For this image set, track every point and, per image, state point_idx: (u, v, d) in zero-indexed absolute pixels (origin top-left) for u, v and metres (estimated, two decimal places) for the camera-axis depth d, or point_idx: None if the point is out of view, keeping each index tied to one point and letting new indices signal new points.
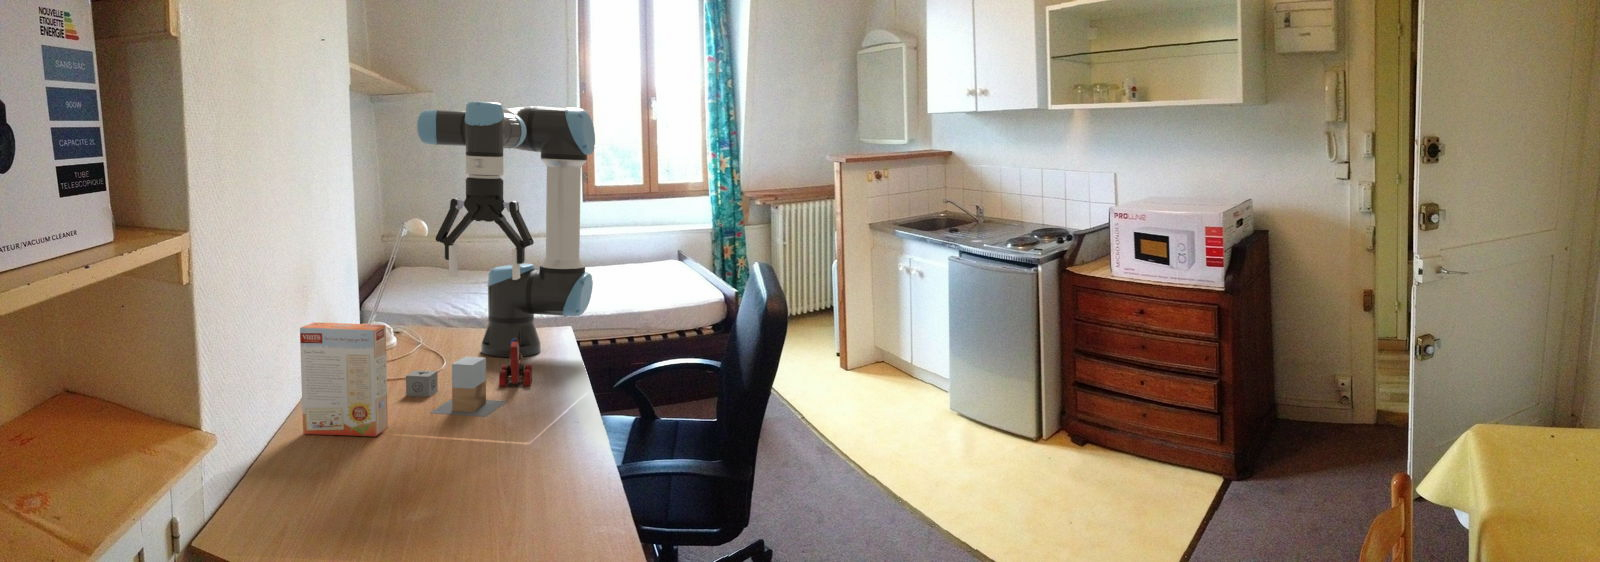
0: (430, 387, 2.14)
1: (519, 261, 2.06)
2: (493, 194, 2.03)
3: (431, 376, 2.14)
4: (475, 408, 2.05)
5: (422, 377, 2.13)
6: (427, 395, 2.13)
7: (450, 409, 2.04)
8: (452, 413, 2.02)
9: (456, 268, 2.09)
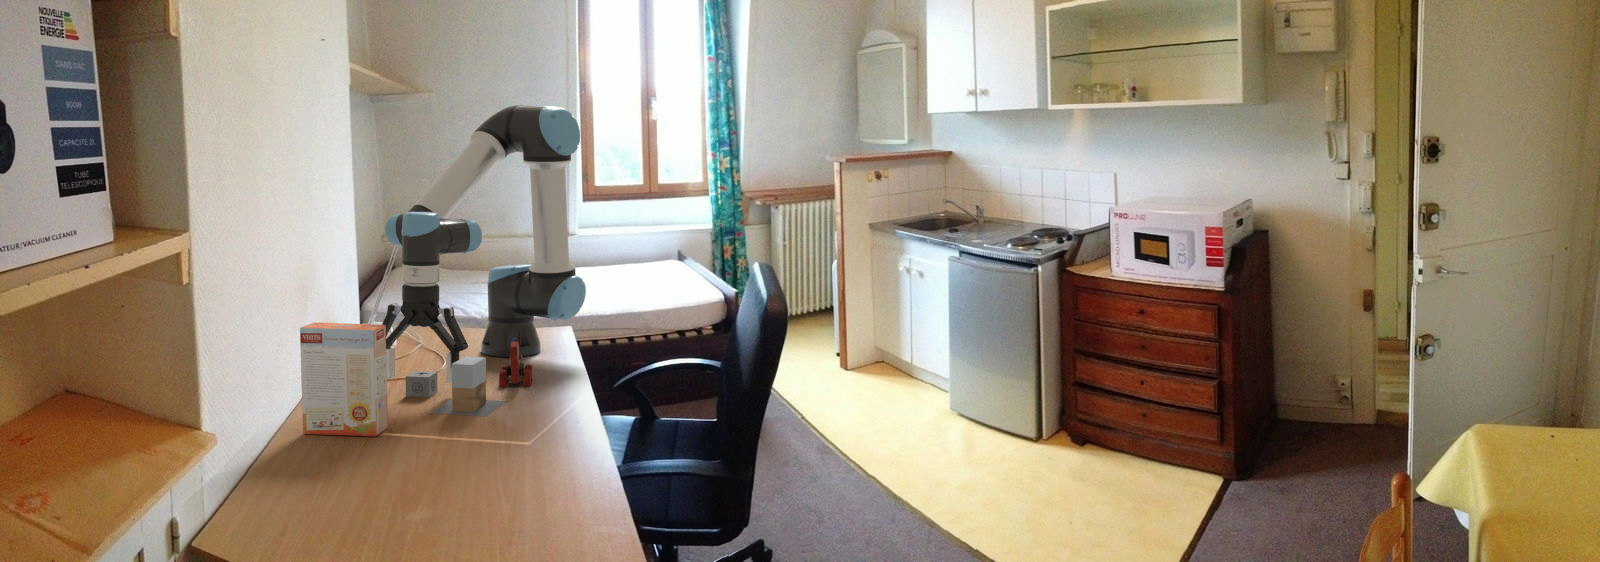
0: (430, 388, 2.13)
1: None
2: (428, 301, 2.10)
3: (431, 377, 2.13)
4: (475, 408, 2.05)
5: (422, 378, 2.12)
6: (427, 396, 2.13)
7: (450, 409, 2.04)
8: (452, 413, 2.02)
9: (393, 370, 2.16)
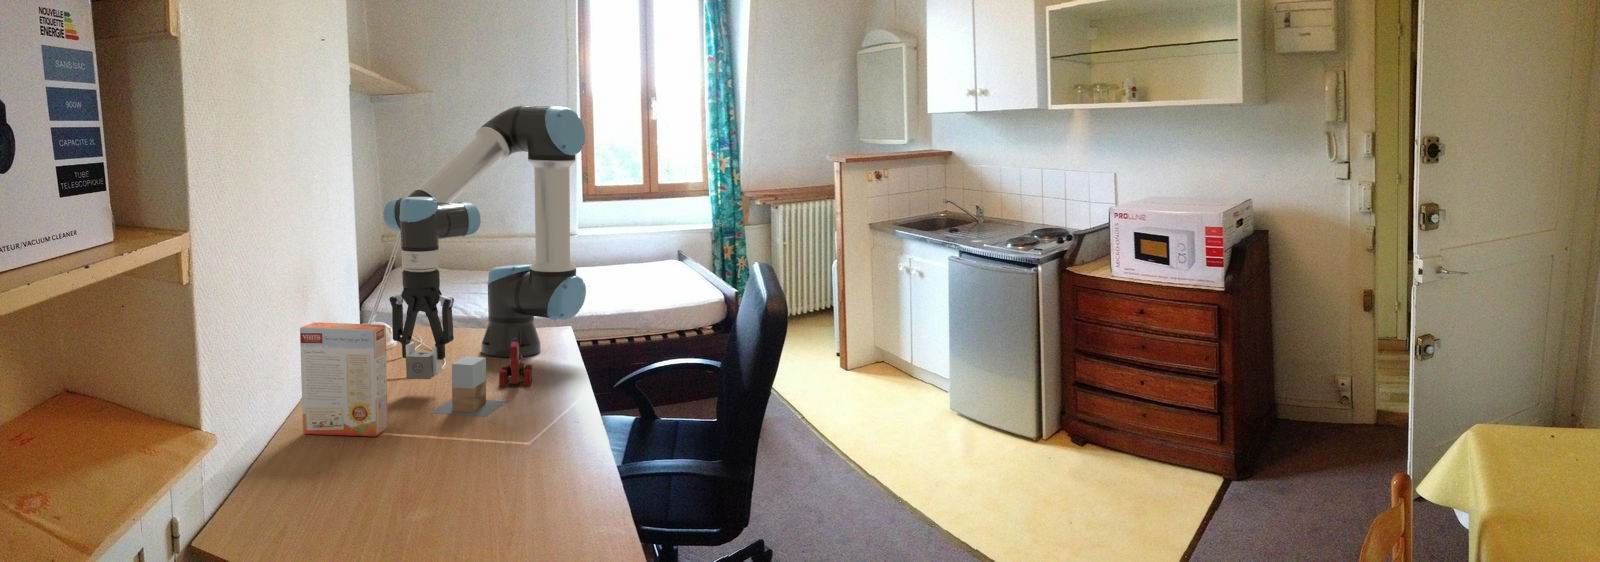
0: (430, 367, 2.13)
1: (439, 357, 2.14)
2: (428, 287, 2.10)
3: (431, 356, 2.13)
4: (475, 408, 2.05)
5: (422, 357, 2.11)
6: (428, 375, 2.12)
7: (450, 409, 2.04)
8: (452, 413, 2.02)
9: None
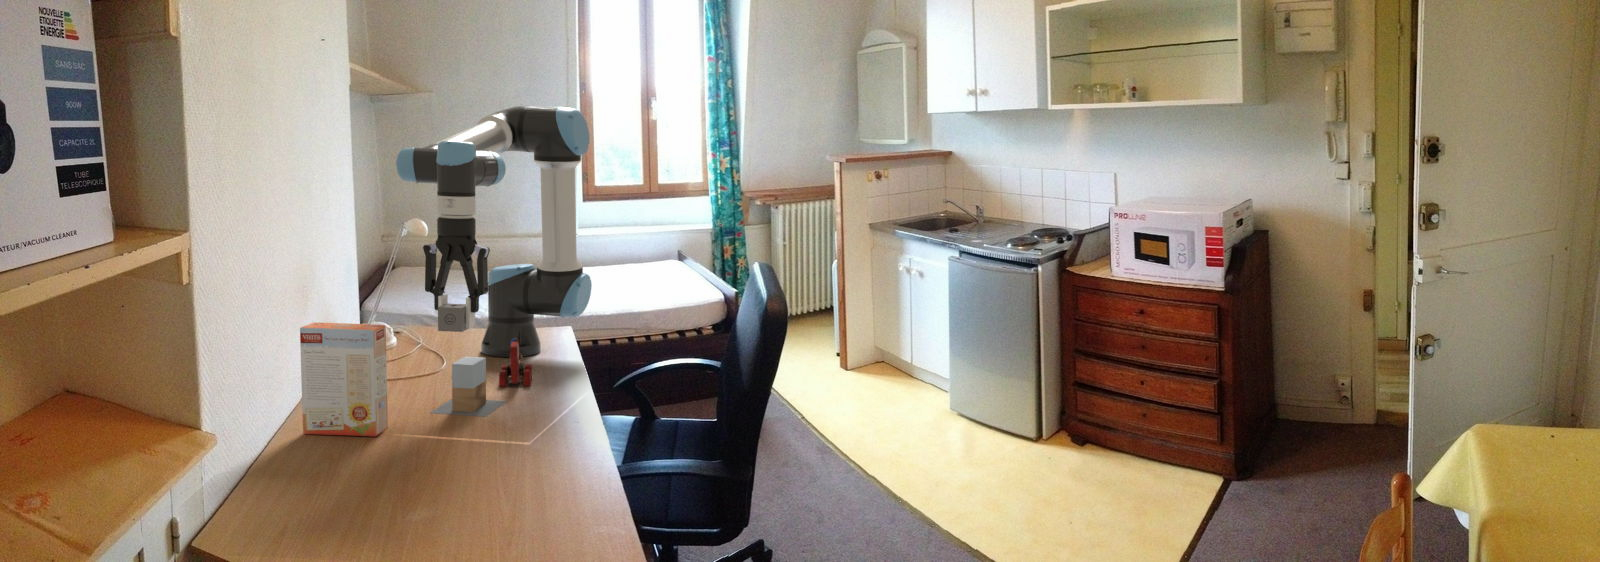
0: (463, 319, 2.03)
1: (473, 310, 2.05)
2: (464, 234, 2.01)
3: (464, 308, 2.03)
4: (475, 408, 2.05)
5: (455, 308, 2.02)
6: (460, 328, 2.02)
7: (450, 409, 2.04)
8: (452, 413, 2.02)
9: None
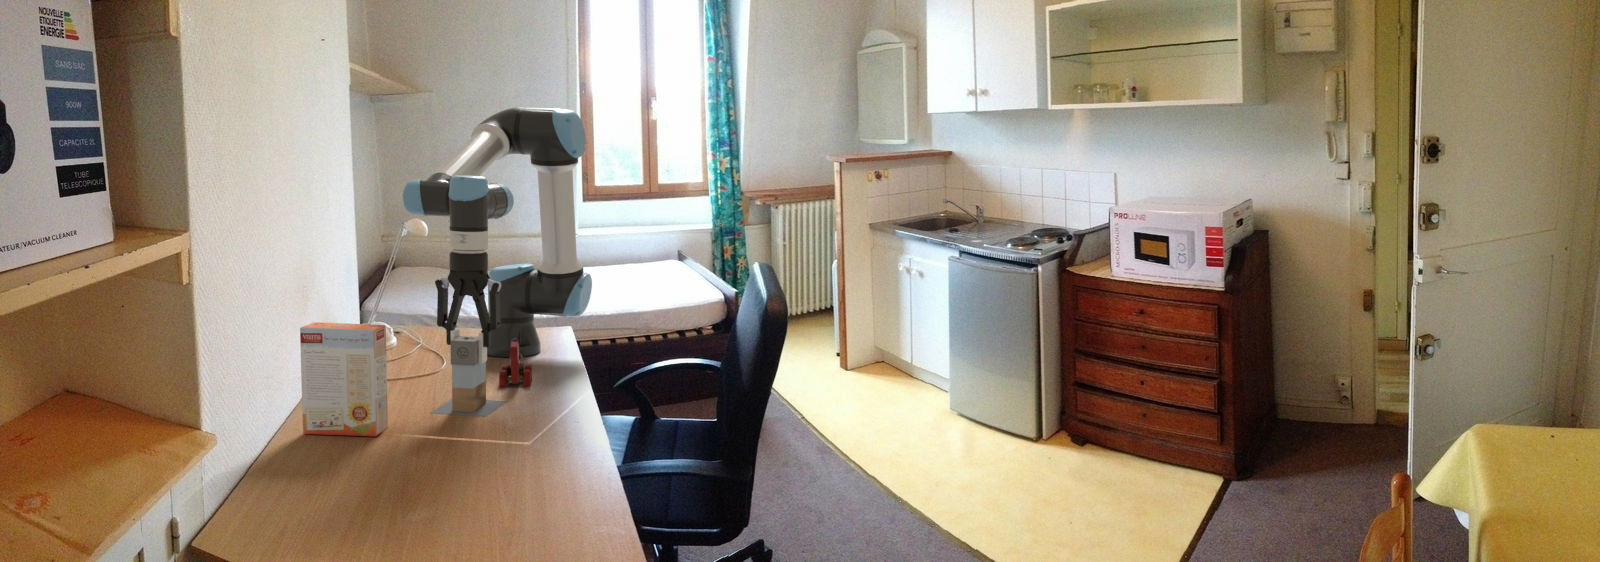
0: (476, 353, 2.02)
1: (485, 344, 2.04)
2: (477, 269, 2.00)
3: (477, 341, 2.02)
4: (475, 408, 2.05)
5: (468, 342, 2.01)
6: (473, 361, 2.02)
7: (450, 409, 2.04)
8: (452, 413, 2.02)
9: None
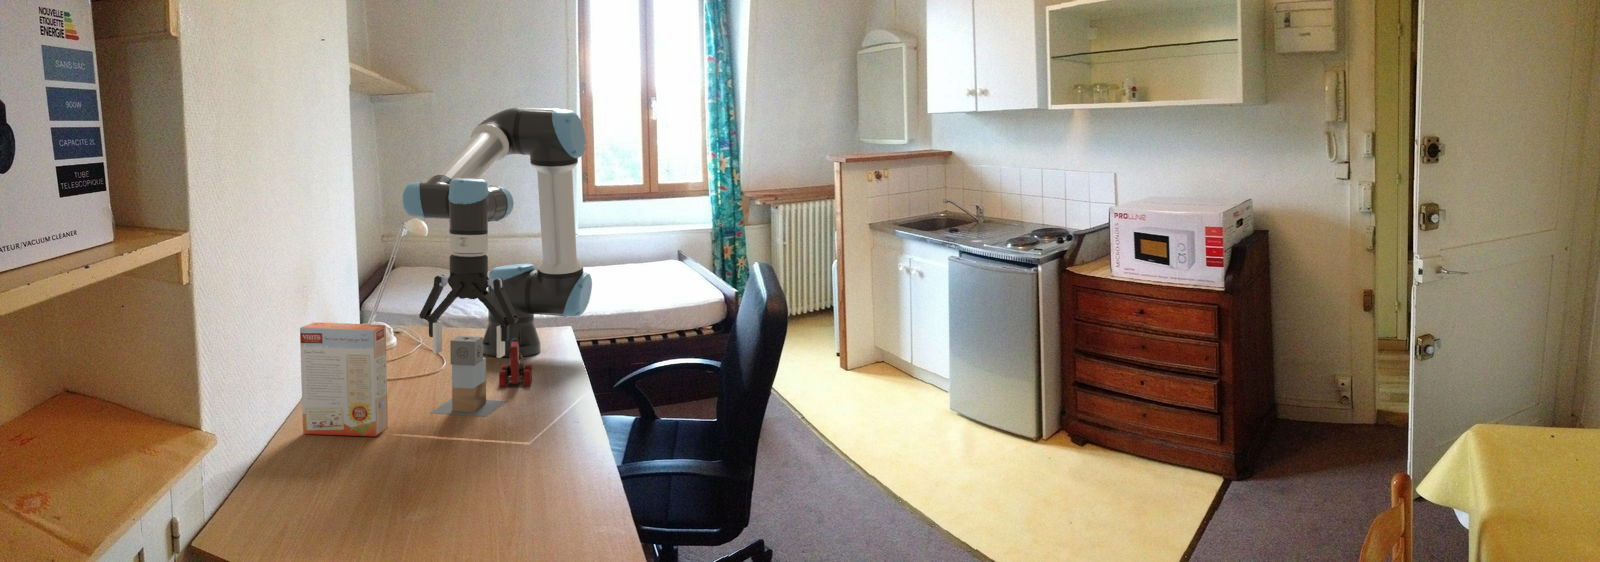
0: (476, 353, 2.02)
1: (503, 339, 2.04)
2: (477, 272, 2.00)
3: (477, 341, 2.02)
4: (475, 408, 2.05)
5: (467, 342, 2.01)
6: (473, 361, 2.02)
7: (450, 409, 2.04)
8: (452, 413, 2.02)
9: (440, 345, 2.06)
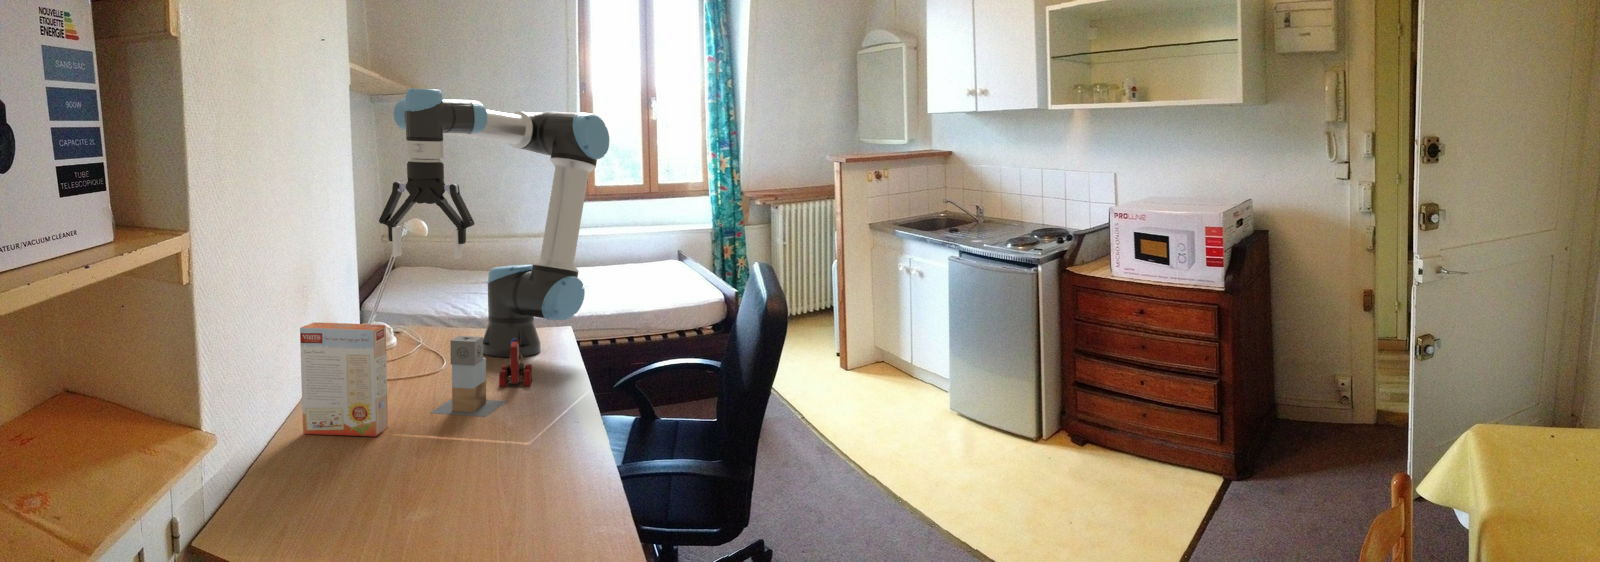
0: (476, 353, 2.02)
1: (460, 241, 2.15)
2: (433, 177, 2.11)
3: (477, 341, 2.02)
4: (475, 408, 2.05)
5: (467, 342, 2.01)
6: (473, 361, 2.02)
7: (450, 409, 2.04)
8: (452, 413, 2.02)
9: (400, 249, 2.17)
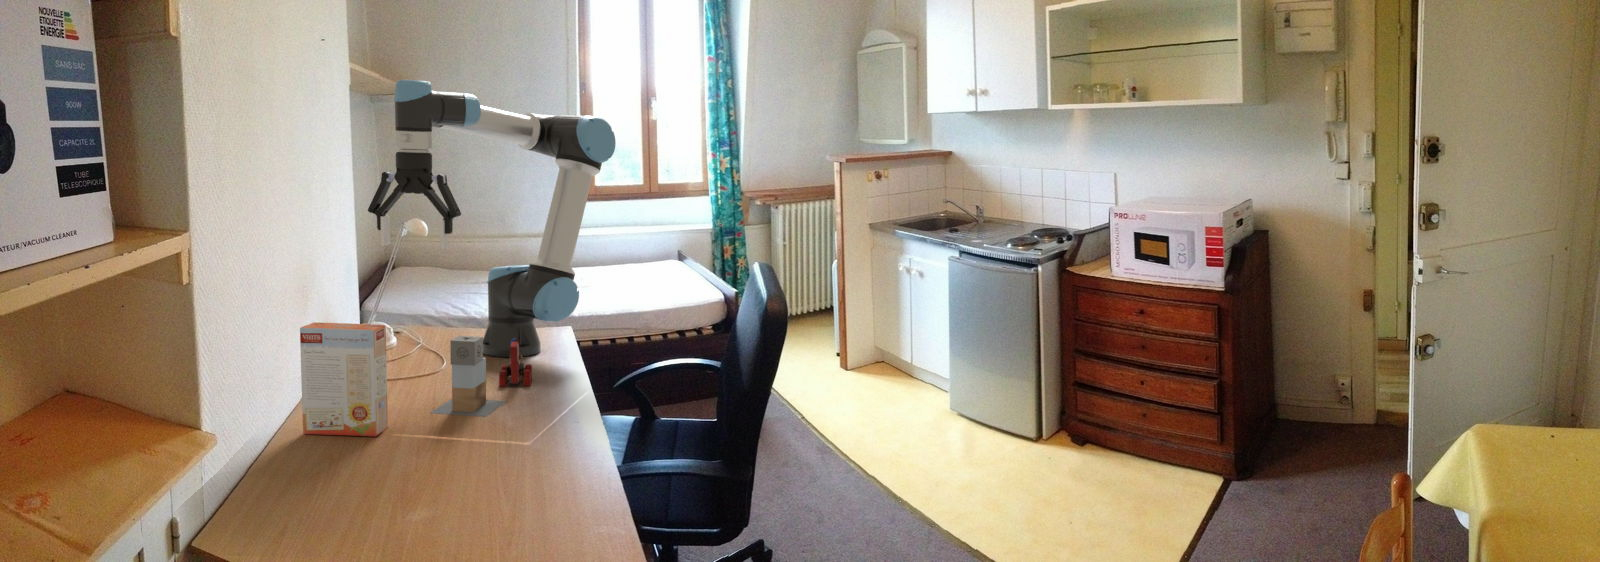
0: (476, 353, 2.02)
1: (447, 231, 2.18)
2: (421, 167, 2.14)
3: (477, 341, 2.02)
4: (475, 408, 2.05)
5: (467, 342, 2.01)
6: (473, 361, 2.02)
7: (450, 409, 2.04)
8: (452, 413, 2.02)
9: (388, 238, 2.20)
